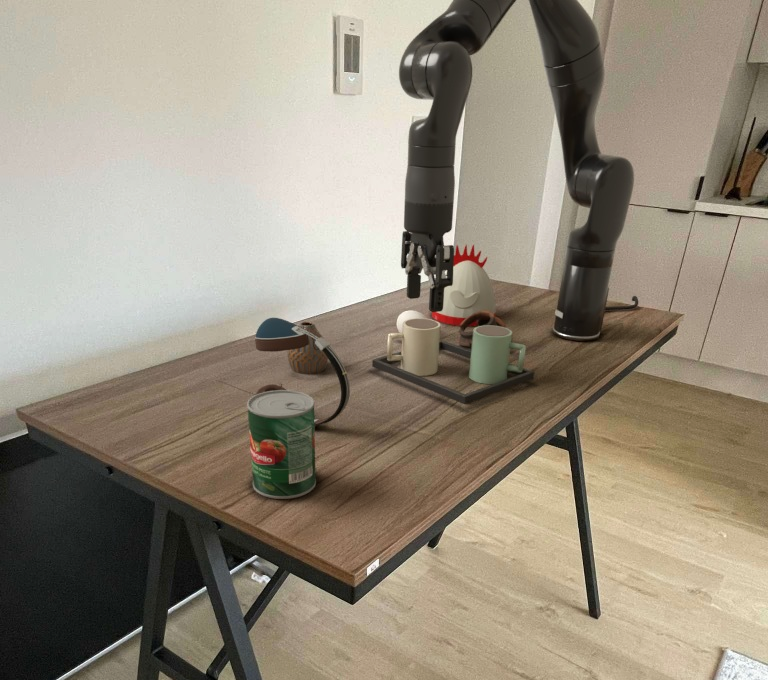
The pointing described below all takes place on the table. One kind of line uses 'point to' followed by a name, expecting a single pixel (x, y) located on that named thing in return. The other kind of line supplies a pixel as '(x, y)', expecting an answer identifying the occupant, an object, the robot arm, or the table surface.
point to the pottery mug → (482, 320)
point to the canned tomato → (282, 443)
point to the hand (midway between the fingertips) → (424, 304)
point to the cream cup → (417, 346)
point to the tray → (445, 391)
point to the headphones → (290, 336)
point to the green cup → (493, 354)
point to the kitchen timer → (467, 290)
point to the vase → (308, 354)
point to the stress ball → (405, 316)
